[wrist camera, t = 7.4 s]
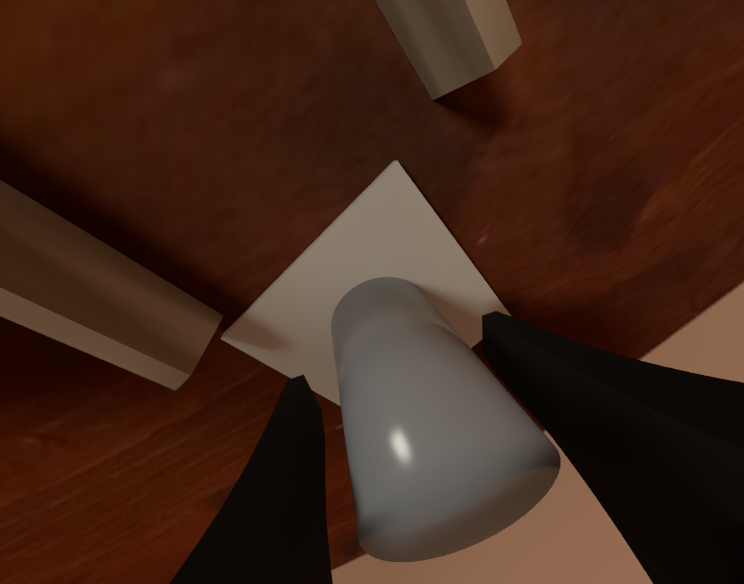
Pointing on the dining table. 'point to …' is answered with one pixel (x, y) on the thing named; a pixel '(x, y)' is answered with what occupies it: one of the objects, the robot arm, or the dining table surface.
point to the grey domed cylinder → (428, 429)
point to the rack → (154, 294)
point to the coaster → (354, 266)
